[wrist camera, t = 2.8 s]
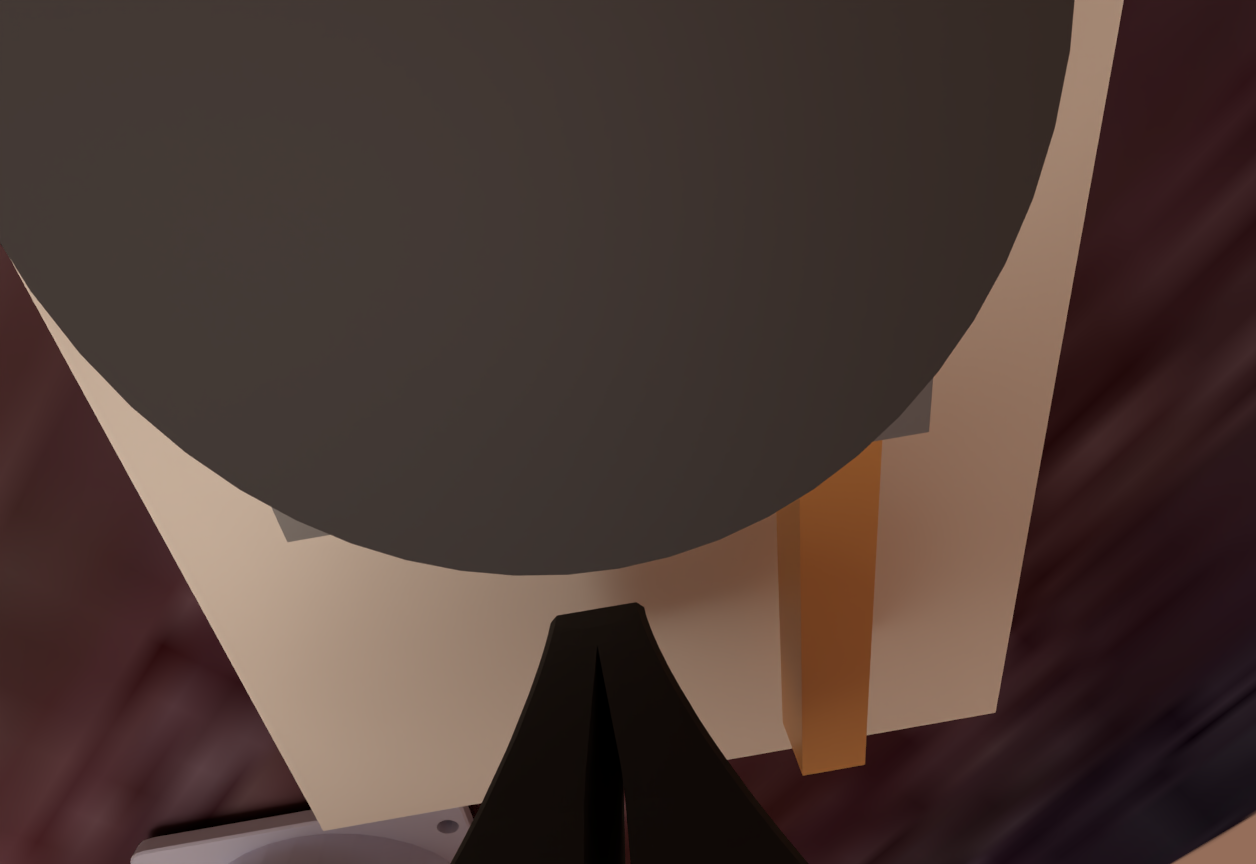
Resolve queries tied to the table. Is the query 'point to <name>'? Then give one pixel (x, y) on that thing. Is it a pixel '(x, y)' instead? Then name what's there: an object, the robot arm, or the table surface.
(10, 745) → the table surface
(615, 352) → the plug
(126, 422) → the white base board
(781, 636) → the orange long bar
